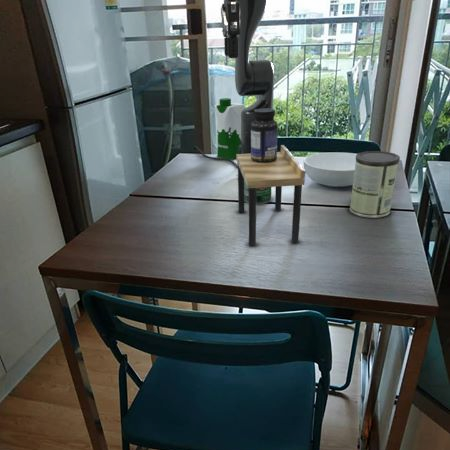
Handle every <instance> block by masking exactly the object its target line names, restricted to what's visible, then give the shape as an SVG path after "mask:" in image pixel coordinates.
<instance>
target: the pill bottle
mask: <svg viewBox="0 0 450 450" xmlns="http://www.w3.org/2000/svg"><path fill="white" fill-rule="evenodd" d="M275 116H276V109H274V108H272V109H268V108H263V109H256V110H254V117H255V121H253V122H252V124H251V159H252V160H253V161H254V162H259V163H266V162H273V161H275V160H276V159H277V152H278V129H279V127H278V126H279V124H278V122H277V121H276V120H275Z"/></svg>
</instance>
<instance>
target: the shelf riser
mask: <svg viewBox="0 0 450 450" xmlns="http://www.w3.org/2000/svg"><path fill="white" fill-rule="evenodd" d="M235 160H236V164H237V163H238V165H237V166H238V168H237V194H238V195H237V199H238V200H237V203H238V205H237V206H238V213H239V214H244V213H245V212H246V211H245V210H246V209H245V208H246V207H245V201H244V180H245V182H246V185H247V187H248V188H249V203H248V246H249V247H256V245H257V204H256V188H261V187H271V188H275V190H274V191H275V195H274V211H276V212H280V211H281V210H282V194H283V193H282V192H283V191H282V190H283V187H293V186H294V188H293V206H292V220H291V221H292V223H291V239H290V243H291V244H295V245H296V244H299V241H300V240H299V237H300V224H301V223H300V222H301V207H302V194H303V193H302V192H303V186H305V181H306V180H305V179H306V172H305V169H304V166H303V165H301V163H299V161H298V160H297V159H296V158H295V156H294V155H293V154H292V153H291V152H290V151H289V149H288V148H287V146H285V145H284V144H281V145H280V151H277V159H276V160H275V161H273V162H266V163H259V162H254V161H253V160H252V159H251V154H236V158H235Z"/></svg>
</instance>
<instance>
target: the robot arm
mask: <svg viewBox="0 0 450 450" xmlns="http://www.w3.org/2000/svg"><path fill="white" fill-rule="evenodd" d="M268 3H269V0H223V3H222V4H221V7H220V17H221V28H222V30H221V32H222V36H223V39H224V42H223V44H224V45H223V46H224V55H225V56H226V57H228V58H229V59H234V60H235V61H234V82H235V90H236V92H237V94H238V96H240V97H253V96H254V97H255V96H258V97H257V98H256V100H255V101H254V102H253V103H251V104H250V105H248V106H246V107H244V109H243V110H242V111H241V145H239V154H251V124H252V122H253V121H255V117H254V110H256V109H263V108H268V109H273V97H274V84H275V70H274V65H273V63H272V62H271V60H270V59H256V60H255V59H254V60H253V59H252V60H249V59H250V58H249V56H250V50H251V49H250V48H251V44H252V41H253V38H254V35H255V34H256V31H257V29H258V27H259V25H260V23H261V21H262V19H263V18H264V15H265V13H266V10H267V8H268ZM193 150H197V151H198V153H200V155H202V157H204V158H206V159H209V160H214V161H215V160H216V161H225V162H229V163H231V164H232V165H233V166H234V167H236V168H237V169H238V163H237V162H236V163H235V161H234V160H233V159H232V160H230V159H226V158H221V157H214V156H209V155H206V154H205V153H204V152H203V151H202V150H201V149H200V148H199V147H198V146H196V145H195V146H194V147H193Z"/></svg>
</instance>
